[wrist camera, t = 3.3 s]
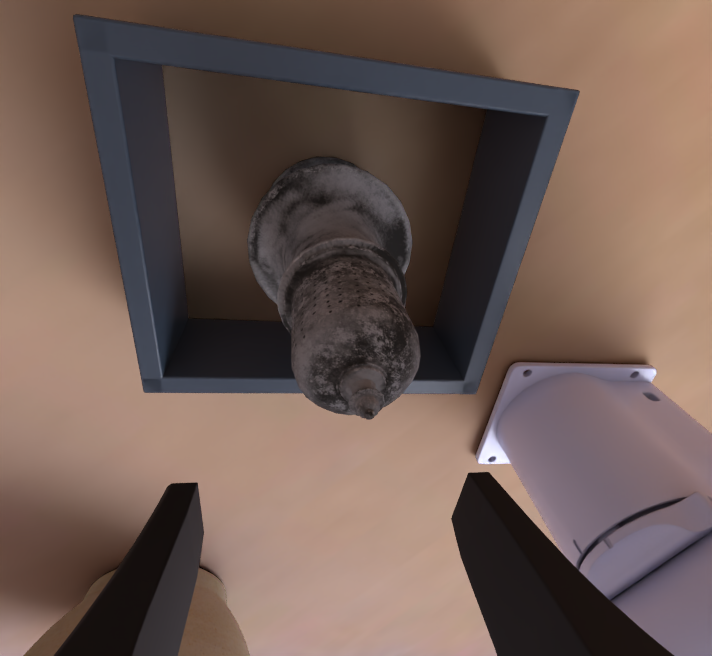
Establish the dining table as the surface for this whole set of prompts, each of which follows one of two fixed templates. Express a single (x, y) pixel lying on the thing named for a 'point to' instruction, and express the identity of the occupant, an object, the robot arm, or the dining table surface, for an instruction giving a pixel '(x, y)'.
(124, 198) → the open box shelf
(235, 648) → the planter bowl
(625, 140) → the dining table surface
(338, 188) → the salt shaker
